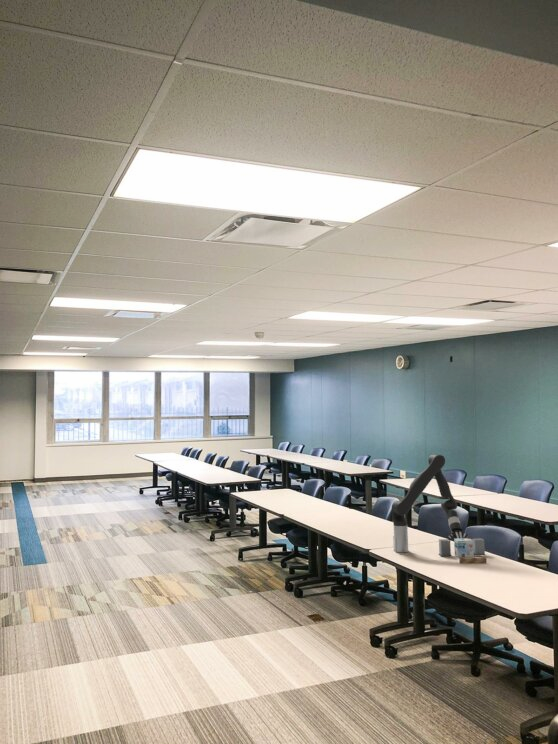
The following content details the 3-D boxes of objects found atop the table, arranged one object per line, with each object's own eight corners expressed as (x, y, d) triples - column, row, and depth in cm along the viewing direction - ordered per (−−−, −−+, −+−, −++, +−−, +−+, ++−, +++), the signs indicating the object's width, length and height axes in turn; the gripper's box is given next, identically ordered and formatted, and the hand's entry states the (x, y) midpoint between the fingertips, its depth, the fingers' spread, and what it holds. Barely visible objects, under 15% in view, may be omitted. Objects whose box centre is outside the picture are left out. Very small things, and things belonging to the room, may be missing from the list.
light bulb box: (457, 557, 385) (456, 540, 386) (454, 555, 392) (453, 538, 393) (474, 557, 386) (473, 540, 387) (470, 555, 393) (469, 538, 394)
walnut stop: (460, 563, 369) (460, 558, 370) (459, 562, 372) (459, 557, 372) (486, 563, 370) (486, 558, 370) (485, 562, 372) (485, 557, 372)
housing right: (475, 556, 389) (474, 540, 390) (472, 554, 395) (471, 538, 396) (485, 555, 390) (485, 540, 390) (482, 553, 395) (481, 538, 396)
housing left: (441, 556, 389) (440, 540, 390) (438, 554, 395) (438, 539, 396) (451, 556, 389) (451, 540, 390) (449, 554, 395) (448, 539, 396)
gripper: (446, 522, 404) (452, 544, 391) (465, 521, 404) (472, 544, 391) (444, 528, 409) (450, 551, 396) (463, 528, 409) (470, 550, 396)
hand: (461, 547), depth 393 cm, fingers closed
